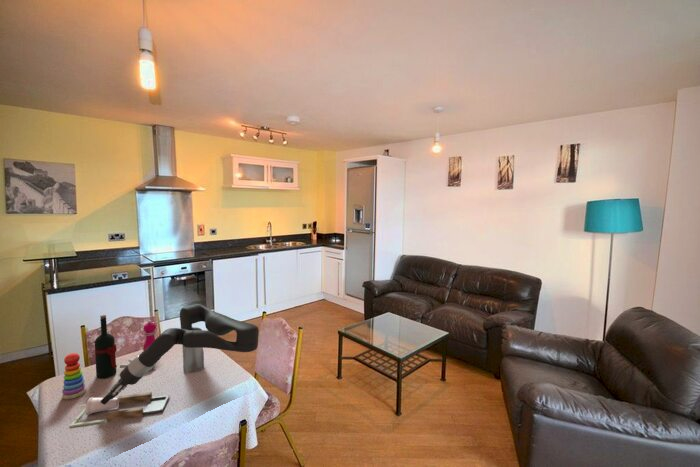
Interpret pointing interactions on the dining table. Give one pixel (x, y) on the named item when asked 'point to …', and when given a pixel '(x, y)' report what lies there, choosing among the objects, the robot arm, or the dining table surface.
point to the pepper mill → (149, 334)
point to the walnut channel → (130, 412)
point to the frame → (84, 422)
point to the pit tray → (156, 405)
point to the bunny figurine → (131, 361)
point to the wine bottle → (105, 352)
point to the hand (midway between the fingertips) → (103, 402)
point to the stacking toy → (73, 377)
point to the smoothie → (99, 405)
